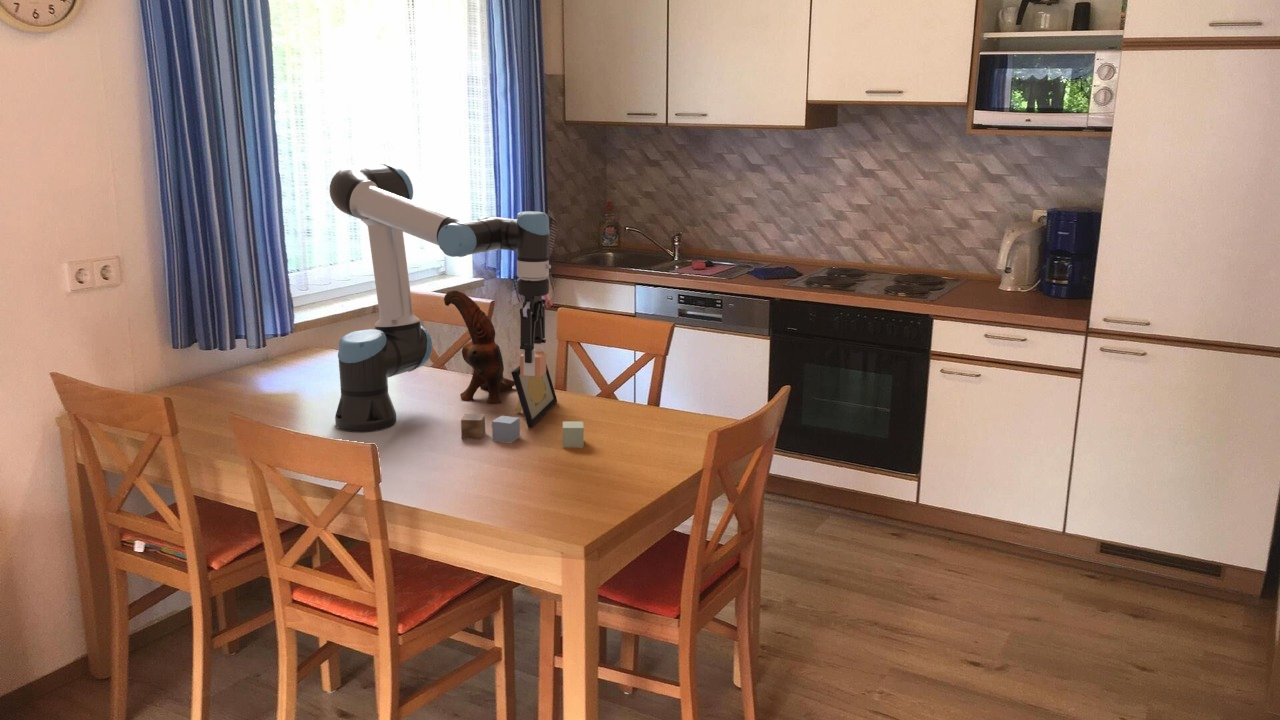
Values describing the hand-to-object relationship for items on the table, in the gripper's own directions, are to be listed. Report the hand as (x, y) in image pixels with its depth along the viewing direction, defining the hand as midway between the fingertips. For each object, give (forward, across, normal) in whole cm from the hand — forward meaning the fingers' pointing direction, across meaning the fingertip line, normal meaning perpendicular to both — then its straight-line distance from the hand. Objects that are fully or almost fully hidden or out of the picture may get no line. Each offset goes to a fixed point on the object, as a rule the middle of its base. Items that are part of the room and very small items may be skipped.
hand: (532, 372), depth 243 cm
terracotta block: (0, 0, 0) cm, 0 cm away
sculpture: (+18, +34, +24) cm, 45 cm away
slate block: (+17, -2, +6) cm, 18 cm away
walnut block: (+17, -2, +15) cm, 23 cm away
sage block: (+17, -2, -11) cm, 20 cm away
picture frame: (+17, +19, +7) cm, 27 cm away
